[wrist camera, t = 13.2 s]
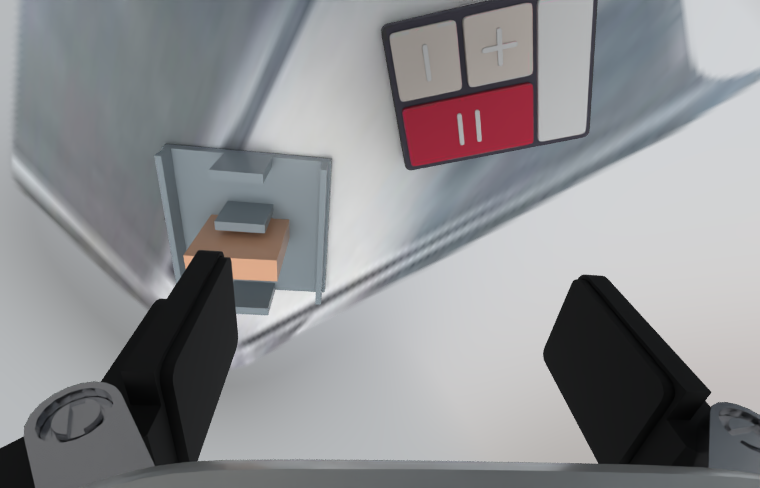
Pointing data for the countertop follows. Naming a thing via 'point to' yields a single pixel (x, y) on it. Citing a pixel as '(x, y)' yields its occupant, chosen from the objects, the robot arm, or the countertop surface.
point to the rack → (249, 210)
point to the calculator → (491, 78)
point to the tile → (246, 249)
